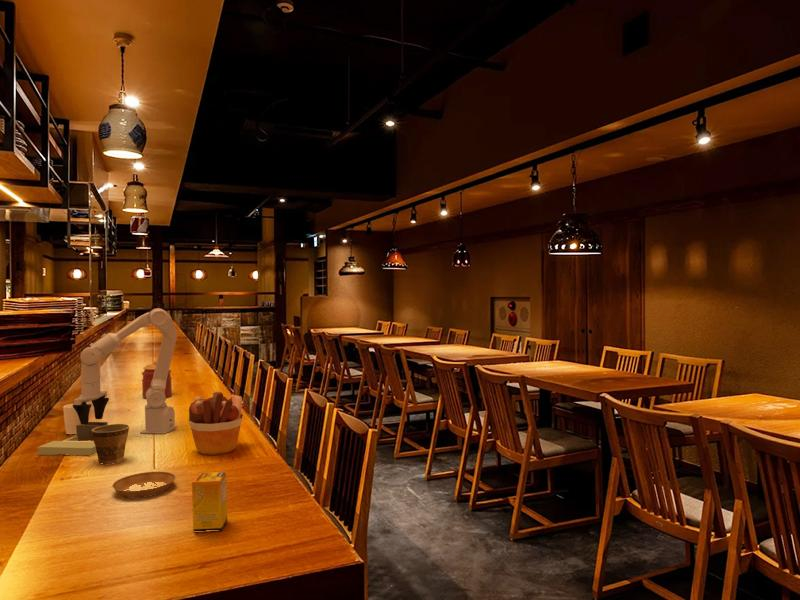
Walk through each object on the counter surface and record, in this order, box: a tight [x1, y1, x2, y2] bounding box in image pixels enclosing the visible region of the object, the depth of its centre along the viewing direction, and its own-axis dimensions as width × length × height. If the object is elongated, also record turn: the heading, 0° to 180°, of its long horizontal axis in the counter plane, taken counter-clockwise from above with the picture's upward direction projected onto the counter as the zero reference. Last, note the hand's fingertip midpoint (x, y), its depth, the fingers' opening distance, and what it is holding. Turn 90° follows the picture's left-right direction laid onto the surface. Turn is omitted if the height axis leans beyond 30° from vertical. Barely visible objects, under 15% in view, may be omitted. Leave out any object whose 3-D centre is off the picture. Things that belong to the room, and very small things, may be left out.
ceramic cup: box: [90, 423, 130, 465], centre depth 169 cm, size 13×10×10 cm
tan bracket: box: [37, 435, 97, 456], centre depth 182 cm, size 18×13×3 cm
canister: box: [141, 359, 173, 400], centre depth 267 cm, size 13×13×18 cm
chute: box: [76, 421, 109, 440], centre depth 194 cm, size 8×5×5 cm, turn 83°
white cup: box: [62, 402, 89, 435], centre depth 203 cm, size 8×8×10 cm
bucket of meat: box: [188, 390, 243, 456], centre depth 178 cm, size 20×16×20 cm
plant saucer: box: [111, 471, 177, 498], centre depth 145 cm, size 15×15×3 cm
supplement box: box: [191, 471, 228, 532], centre depth 122 cm, size 6×6×11 cm
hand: (91, 421), depth 194 cm, fingers open, 7 cm apart
